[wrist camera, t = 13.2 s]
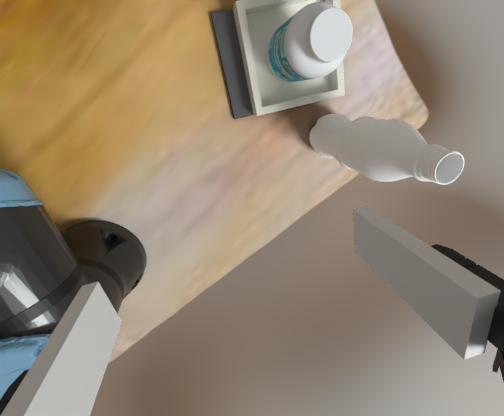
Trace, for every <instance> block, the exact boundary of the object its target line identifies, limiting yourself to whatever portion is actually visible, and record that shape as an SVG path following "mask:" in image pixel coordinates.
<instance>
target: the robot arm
mask: <svg viewBox="0 0 504 416" xmlns="http://www.w3.org/2000/svg"><path fill="white" fill-rule="evenodd" d="M43 204H44V203H43V202H42V201H41V200H39V199H38V198H37V197H36V195H35V194H34V193H33V191H32V190H31V188H30V187H29V186H28V184H27V183H26V181H25V180H24V179H23V178H22V177H21V176H20V175H19V174H17V173H15V172H13V171H10V170H6V169H0V416H90V413H91V410H92V407H93V405H94V402H95V399H96V396H97V393H98V390H99V387H100V384H101V381H102V378H103V376H104V373H105V370H106V367H107V364H108V361H109V358H110V355H111V352H112V350H113V347H114V344H115V341H116V338H117V335H118V332H119V329H120V326H121V324H122V321H121V319H120V318H119V316H118V311H119V308H120V305H121V303H122V300H123V299H124V298H125V297H126V296H127V295H128V294H129V293H130V292H131V291H132V290H133V289H134V288H135V287H136V286H137V285H138V283H139V282H140V280H141V278H142V276H143V273H144V270H145V267H146V253H145V250H144V247H143V245H142V244H141V242H140V241H139V239H138V238H137V237H136V236H135V235H134V234H132V233H131V232H130V231H128V230H127V229H125V228H123V227H121V226H119V225H116V224H113V223H109V222H103V221H89V222H83V223H80V224H77V225H74V226H72V227H70V228H69V229H67V230H66V231H65V232H63V233H62V234H61V233H60V232H59V230H58V228H57V227H56V225H55V224H54V222H53V220H52V219H51V217H50V216H49V214H48V212H47V211H46V209H45V208H44V206H43ZM353 220H354V241H355V253H356V254H357V255H358V256H359V257H360V258H361V259H362V260H363V261H364V262H365V263H366V264H367V265H368V266H369V267H370V268H371V269H372V270H373V271H374V272H375V273H376V274H377V275H378V276H379V277H380V278H381V279H382V280H383V281H385V283H387V285H389V286H390V287H391V288H392V289H393V290H394V291H395V292H396V293H397V294H398V295H399V296H400V297H401V298H402V299H403V300H404V301H405V302H406V303H407V304H408V305H409V306H410V307H411V308H412V309H413V310H414V311H415V312H416V313H417V314H418V315H419V316H420V317H421V318H422V319H423V320H424V321H425V322H427V324H428V325H429V326H430V327H431V328H432V329H433V330H434V331H436V333H437V334H438V335H439V336H440V337H442V339H444V340H445V341H446V342H447V343H448V344H449V345H450V346H451V347H452V348H453V349H454V350H455V351H456V352H457V353H458V354H459V355H460V356H461V357H462V358H463V359H464V360H465V359H467V358H470V357H473V356H476V355H479V354H482V353H484V352H485V348H486V345H487V340H489V342H491V343H492V344H493V345H494V346H495V347H497V348H498V350H497V353H496V357H495V360H494V364H493V371H494V372H497V371H498V368H499V366H500V370H501V373H502V377H503V381H504V280H503V279H502V278H500V277H498V276H497V275H495V274H493V273H491V272H490V271H488V270H486V269H485V268H483V267H481V266H480V265H476V263H475V262H473V261H471V260H469V259H468V258H467V259H466V258H465V257H464V256H463V255H461V254H459V253H458V252H456V251H454V250H453V249H450V248H447V247H444V246H441V245H438V244H437V245H433V246H429V245H428V244H426V243H425V242H423V241H421V240H420V239H418V238H417V237H415V236H413V235H412V234H410V233H409V232H407V231H405V230H404V229H402V228H401V227H399V226H398V225H396V224H395V223H393V222H391V221H389V220H388V219H387V218H385V217H384V216H382V215H380V214H379V213H377V212H376V211H374V210H373V209H371V208H369V207H368V206H364V207H360V208H357V209H353Z"/></svg>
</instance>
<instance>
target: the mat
mask: <svg viewBox="0 0 504 416" xmlns="http://www.w3.org/2000/svg"><path fill="white" fill-rule="evenodd" d="M211 16H212V21H213V25H214V30H215V34H216V39H217V43H218V48H219V52H220V57H221V61H222V66H223V70H224V74H225V79H226V83H227V88H228V92H229V97H230V101H231V106H232V110H233V115H234V119H238V118H242V117H246V116H251V115H253V111H252V106H251V101H250V96H249V90H248V85H247V80H246V75H245V70H244V65H243V59H242V54H241V49H240V44H239V39H238V33H237V28H236V23H235V18H234V13H233V9H231V10H225V11H220V12H215V13H211Z"/></svg>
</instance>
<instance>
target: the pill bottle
mask: <svg viewBox="0 0 504 416" xmlns="http://www.w3.org/2000/svg"><path fill="white" fill-rule="evenodd" d="M352 35H353V28H352V23H351V20H350V18H349V16H348V15H347V14H346V13H345V12H344V11H343V10H341V9H339V8H336V7H335V6H333V5H331V4H329V3H326V2H314V3H311V4H308V5H306V6H305V7H303V8H302V9H301V10H299V11H298V12H297V13H296V14H295V15H293V16H292V17H291V18H290V19H289V20H288V21H286V22H285V23H284V24H283V25H282V26H280V27H279V28H278V29H277V30H276V31H275V32H274V33H273V35H272V36H271V38H270V40H269V43H268V46H267V62H268V65H269V68H270V70H271V71H272V73H273V74H274V75H275V76H276V77H277V78H278V79H280V80H282V81H285V82H297V81H303V80H310V79H316V78H321V77H324V76H326V75H328V74H330V73H331V72H333V71H334V70H335V69H336V68H337V67H338V66H339V64H340V63H341V62H342V60H343V58H344V56H345V54H346V52H347V50H348V48H349V46H350V44H351V41H352Z"/></svg>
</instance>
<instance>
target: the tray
mask: <svg viewBox="0 0 504 416" xmlns="http://www.w3.org/2000/svg"><path fill="white" fill-rule="evenodd" d="M314 2H326V3H329V4H331V5H333V6H335V7H336V8H339V9H340V0H239V1H236V2H235V4H234V7H233V13H234V18H235V23H236V28H237V33H238V39H239V44H240V49H241V54H242V59H243V65H244V70H245V75H246V80H247V85H248V90H249V96H250V101H251V106H252V111H253V115H255V116H259V115H264V114H268V113H272V112H276V111H280V110H285V109H289V108H293V107H297V106H301V105H306V104H310V103H314V102H318V101H322V100H326V99H331V98H335V97H339V96H343V95H345V92H344V72H343V60H342V62H341V63H340V64H339V66H338V67H337V68H336V69H335V70H334V71H333V72H331V73H330V74H328V75H326V76H324V77H321V78H316V79H310V80H303V81H297V82H285V81H282V80H280V79H278V78H277V77H276V76H275V75H274V74H273V73H272V71H271V70H270V68H269V65H268V62H267V46H268V43H269V40H270V38H271V36H272V35H273V33H274V32H275V31H276V30H277V29H278V28H279V27H280V26H282V25H283V24H284V23H285V22H286V21H288V20H289V19H290V18H291V17H292V16H293V15H295V14H296V13H297V12H298V11H299V10H301V9H302V8H303V7H305V6H306V5H308V4H311V3H314Z"/></svg>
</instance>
